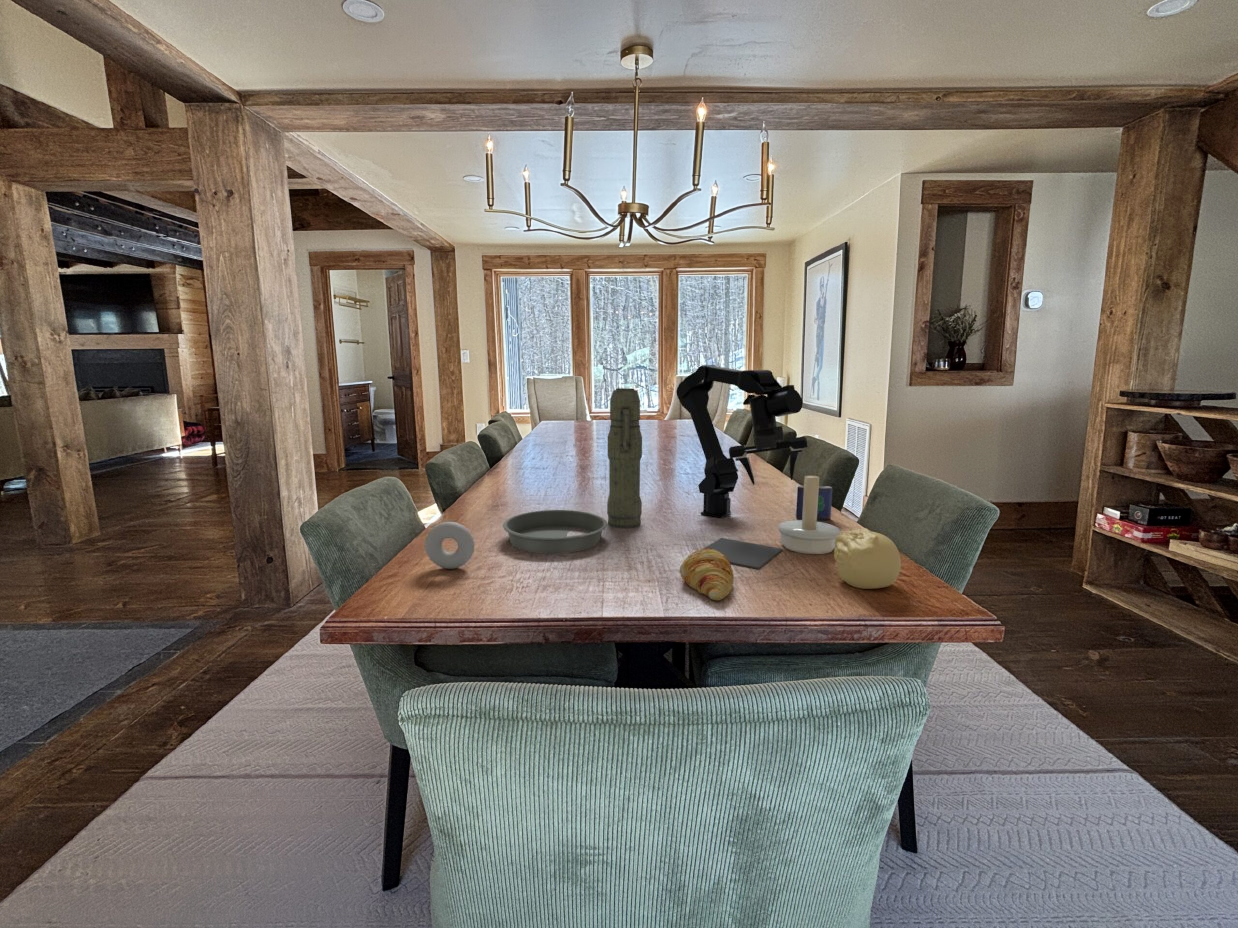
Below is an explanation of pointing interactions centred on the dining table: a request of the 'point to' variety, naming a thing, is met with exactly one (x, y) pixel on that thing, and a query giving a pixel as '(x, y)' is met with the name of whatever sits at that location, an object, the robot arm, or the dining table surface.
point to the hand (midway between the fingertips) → (772, 482)
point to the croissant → (708, 573)
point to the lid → (809, 517)
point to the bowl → (807, 545)
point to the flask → (823, 503)
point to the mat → (745, 552)
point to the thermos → (624, 459)
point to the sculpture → (866, 559)
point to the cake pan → (554, 530)
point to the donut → (447, 558)
